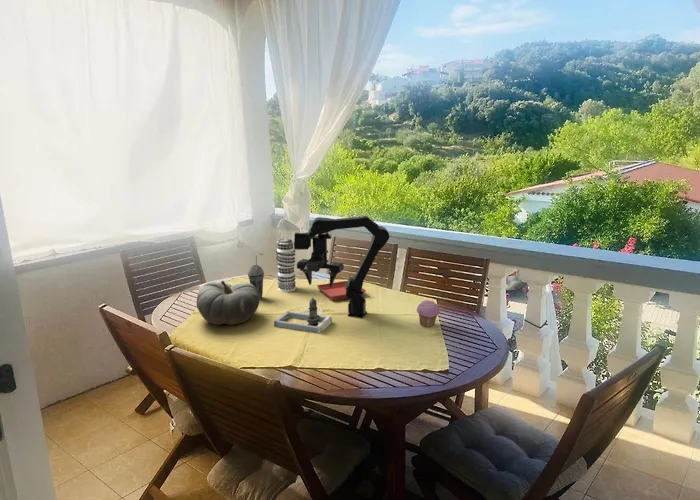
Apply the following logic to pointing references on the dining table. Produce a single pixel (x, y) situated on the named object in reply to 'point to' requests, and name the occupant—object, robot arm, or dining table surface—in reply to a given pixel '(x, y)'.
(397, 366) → the dining table surface
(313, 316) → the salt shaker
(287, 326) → the frame
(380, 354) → the dining table surface
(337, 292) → the plant saucer
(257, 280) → the beverage cup
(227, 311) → the gourd
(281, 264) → the decorative candle
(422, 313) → the cupcake
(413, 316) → the dining table surface
